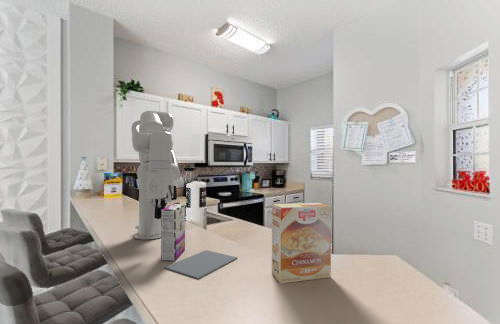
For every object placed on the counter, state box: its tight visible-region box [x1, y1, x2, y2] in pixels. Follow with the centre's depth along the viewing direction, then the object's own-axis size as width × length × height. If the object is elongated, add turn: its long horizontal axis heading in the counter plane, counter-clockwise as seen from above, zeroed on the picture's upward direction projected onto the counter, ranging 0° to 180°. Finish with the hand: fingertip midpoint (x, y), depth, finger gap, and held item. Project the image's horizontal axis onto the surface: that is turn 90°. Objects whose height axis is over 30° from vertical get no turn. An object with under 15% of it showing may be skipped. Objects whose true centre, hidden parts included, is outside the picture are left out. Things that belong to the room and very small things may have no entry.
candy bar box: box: [160, 203, 186, 262], centre depth 84 cm, size 11×5×16 cm, turn 179°
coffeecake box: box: [271, 202, 332, 284], centre depth 69 cm, size 15×7×20 cm, turn 105°
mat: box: [164, 249, 238, 280], centre depth 77 cm, size 14×18×1 cm
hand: (159, 218), depth 88 cm, fingers closed
